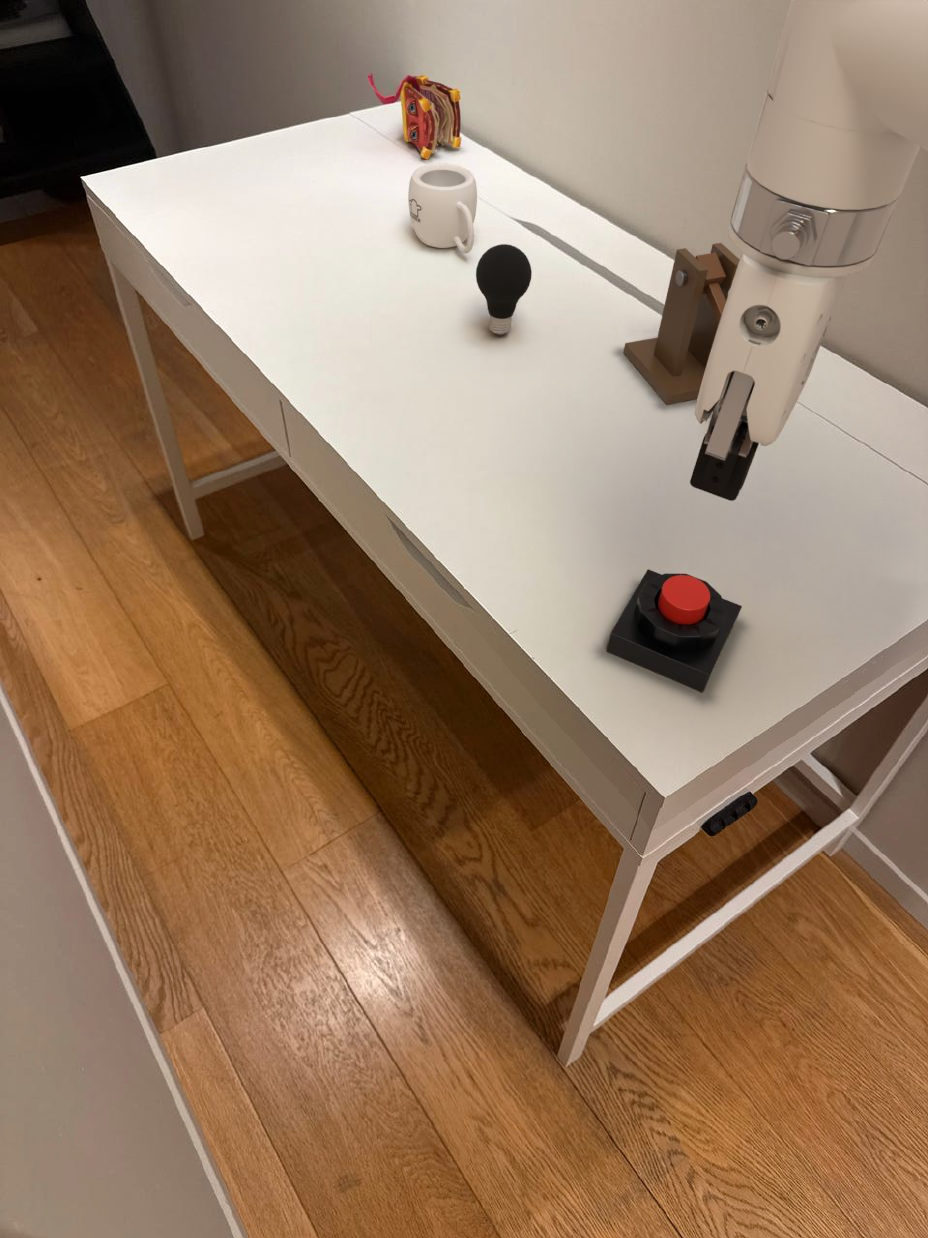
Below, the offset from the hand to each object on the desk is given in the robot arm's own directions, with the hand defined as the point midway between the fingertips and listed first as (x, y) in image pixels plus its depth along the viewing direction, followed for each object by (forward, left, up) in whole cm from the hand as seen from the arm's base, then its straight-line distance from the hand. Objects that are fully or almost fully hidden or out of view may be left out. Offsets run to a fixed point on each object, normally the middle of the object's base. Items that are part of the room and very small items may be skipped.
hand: (715, 486), depth 59 cm
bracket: (+12, -36, -16) cm, 41 cm away
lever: (+8, -33, -8) cm, 35 cm away
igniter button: (0, 0, -12) cm, 12 cm away
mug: (+47, -47, -16) cm, 68 cm away
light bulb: (+32, -32, -16) cm, 48 cm away
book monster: (+66, -70, -16) cm, 97 cm away
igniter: (0, 0, -16) cm, 16 cm away
